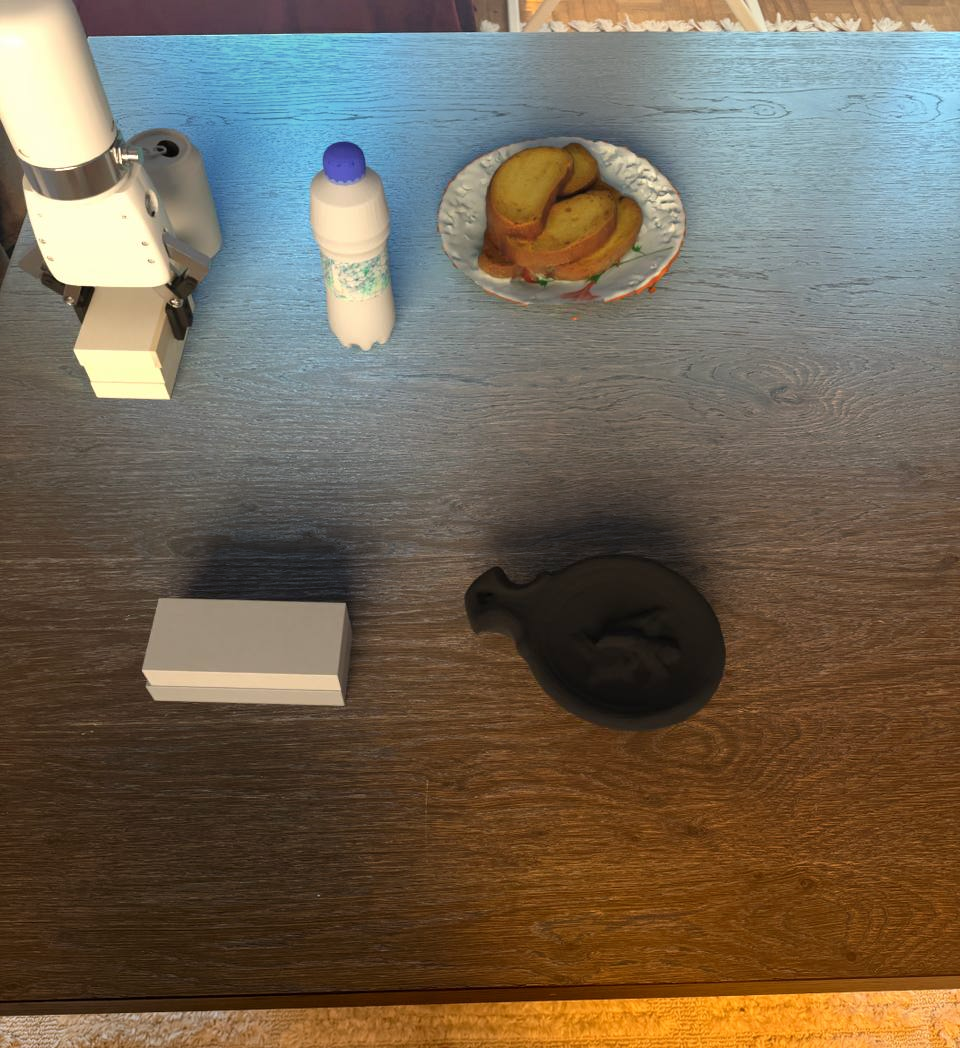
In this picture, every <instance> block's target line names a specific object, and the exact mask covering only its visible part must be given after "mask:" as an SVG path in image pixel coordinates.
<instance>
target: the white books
mask: <svg viewBox="0 0 960 1048" xmlns="http://www.w3.org/2000/svg"><path fill="white" fill-rule="evenodd" d="M187 298H188V301H189V304H190V307H191V310H192V313H193V314H194V311H195V307H196V305H195V302H194V299H193V296H192V293H191V294H190V295H189V296H188V297H187ZM189 329H190V327H187V330H186V334H185V338H184V340H183V341H180V340H177V339H175V338H174V335H173V332H172V333H171V337H170V340H169V344H168V348H167V351H166V355H165V358H164V362H163V365H162V368H152V367H112V366H83V368H84V370H85V372H86V373H87V376H88V379H89V380H90V385H91V388H92V389H93V391H94V394H95V395H96V397H97V398H98V399H99V398H100V399H101V398H102V399H103V398H104V399H105V398H106V399H136V400H137V399H139V400H140V399H141V400H171V398H172V394H173V390H174V385H175V383H176V378H177V375H178V370H179V367H180V364H181V359H182V355H183V352H184V348H185V345H186V340H187V338H188V333H189Z"/></svg>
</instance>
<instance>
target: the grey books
mask: <svg viewBox="0 0 960 1048" xmlns="http://www.w3.org/2000/svg"><path fill="white" fill-rule="evenodd" d="M352 643H353V629H352V624H351V619H350V616H349V611H348V606H347V603H346V602H328V601H327V602H324V601H293V600H292V601H290V600H289V601H287V600H257V599H256V600H255V599H254V600H253V599H251V600H250V599H246V600H245V599H220V598H219V599H216V598H215V599H214V598H179V597H177V598H176V597H159V598H158V602H157V605H156V609H155V613H154V617H153V621H152V626H151V630H150V633H149V639H148V643H147V647H146V651H145V655H144V659H143V663H142V667H141V672H142V674H143V675H144V676H145V678H146V684H145V688H146V689H147V691H148V692H149V694H150V696H151V697H152V699H153V700H154V701H156V702H157V701H159V702H160V701H161V702H191V703H192V702H197V703H198V702H199V703H228V704H229V703H232V704H233V703H235V704H265V705H266V704H267V705H268V704H271V705H303V706H304V705H306V706H313V705H314V706H339V707H340V706H341V707H342V706H345V705H346V696H347V689H348V688H347V687H348V679H349V669H350V663H351V662H350V661H351V660H350V659H351V652H352Z"/></svg>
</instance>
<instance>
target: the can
mask: <svg viewBox="0 0 960 1048" xmlns="http://www.w3.org/2000/svg"><path fill="white" fill-rule="evenodd" d="M125 142H126V143H127V144H131V145H132V146H141V148H142V151H143V158H144V159H143V163H142V164H141V165H142V166H143V168H144V169H145V171H146V173H147V174H148V176H149V178H150V179H151V181H152V183H153V185H154V186H155V188H156V190H157V192H158V194H159V196H160V198H161V201H162V203H163V205H164V207H165V210H166V212H167V214H168V217H169V219H170V222H171V224H172V226H173V229H174V232H175V235H176V238H177V239H178V240H180V241H182V242H184V243H185V244H187V245H189V246H191V247H193V248H194V249H196V250H198V251H200V252H201V253H203V254H205V255H207V256H208V257H210V259H211V260H212V259H213V258H214V256H216V254H218V253H219V251H220V249H221V247H222V246H223V233H222V229H221V226H220V221H219V218H218V214H217V210H216V206H215V201H214V199H213V195H212V191H211V186H210V183H209V179H208V175H207V172H206V168H205V164H204V160H203V156H202V154H201V152H200V150H199V148H198V147H197V146H196V145H194V144H193V143H192V142H191V140H190V138H189V137H188V136H187V134H185V133H184V132H181V131H179V130H177V129H174V128H168V127H167V128H166V127H155V128H150V129H146V130H145V129H144V130H143V131H142V130H141V131H140V132H138V133H135V134H134V135H133V136H131V137H130V138H129V139H128V140H127V141H125ZM186 268H187V267H186Z"/></svg>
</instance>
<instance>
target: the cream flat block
mask: <svg viewBox="0 0 960 1048" xmlns="http://www.w3.org/2000/svg"><path fill="white" fill-rule="evenodd" d="M168 258H169V257H168ZM169 262H170V263H171V264H172V265H173V266H174V267H175V268H176V269H177V270H178V271H179V272H180V273H181V274H182V273H183V272H184V271H185V270H186V269H187V268H186V267H185V266H183V265H182V264H180V263H178V262H176V261H174V260H173V259H171V258H169ZM168 283H169V284H170V285H171V283H170V282H168ZM94 287H95V290H94V293H93V296H92V299H91V302H90V305H89V307H88V310H87V312H86V315H85V318H84V321H83V324H81V326H80V329H79V331H78V332H79V333H78V336H77V338H76V341H75V344H74V347H73V349H72V351H73V352H74V354H75V357H76V358H77V360H78V363H79V365H80V366H82V367H84V366H112V367H152V368H162V365H163V362H164V358H165V355H166V351H167V348H168V344H169V340H170V337H171V333H172V328H171V325H170V322H169V319H168V316H167V314H166V312H165V306H166V303H167V302H166V301H165V300H164V299H163V298H162V297H161V296H160V295H159V294H158V293H157V292H156V291H155V290H154V289H153V288H152V287H107V286H94Z"/></svg>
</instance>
